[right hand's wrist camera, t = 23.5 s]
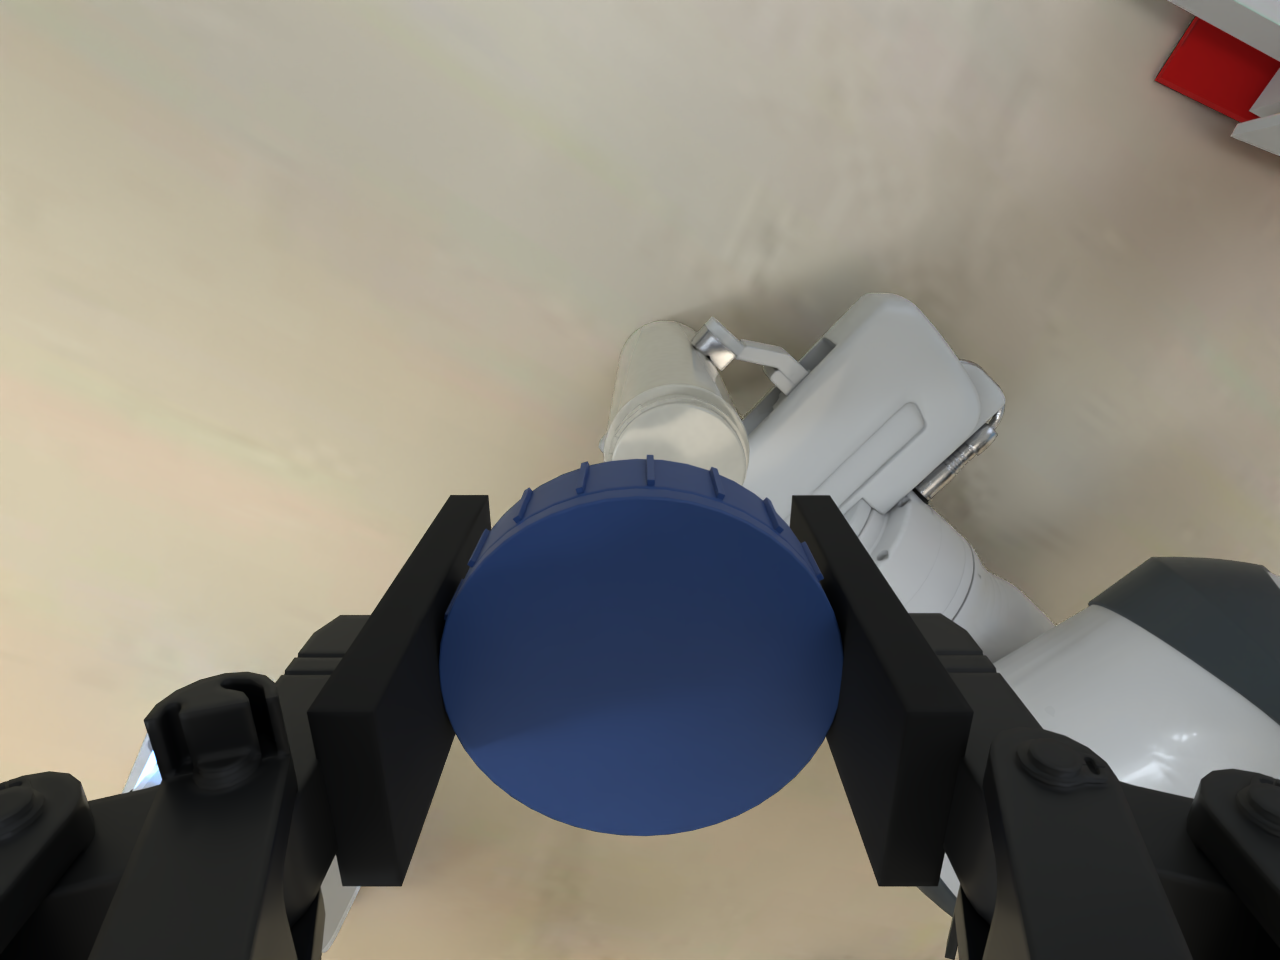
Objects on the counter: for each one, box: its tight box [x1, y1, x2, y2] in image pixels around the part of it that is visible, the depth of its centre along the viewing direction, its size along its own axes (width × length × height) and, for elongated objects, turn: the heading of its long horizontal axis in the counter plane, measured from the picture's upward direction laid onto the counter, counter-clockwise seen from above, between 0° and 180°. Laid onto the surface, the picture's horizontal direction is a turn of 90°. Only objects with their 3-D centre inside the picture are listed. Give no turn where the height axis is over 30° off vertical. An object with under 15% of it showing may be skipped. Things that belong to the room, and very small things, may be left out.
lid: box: [439, 455, 844, 836], centre depth 11 cm, size 6×6×2 cm
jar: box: [604, 320, 750, 486], centre depth 31 cm, size 5×5×17 cm
